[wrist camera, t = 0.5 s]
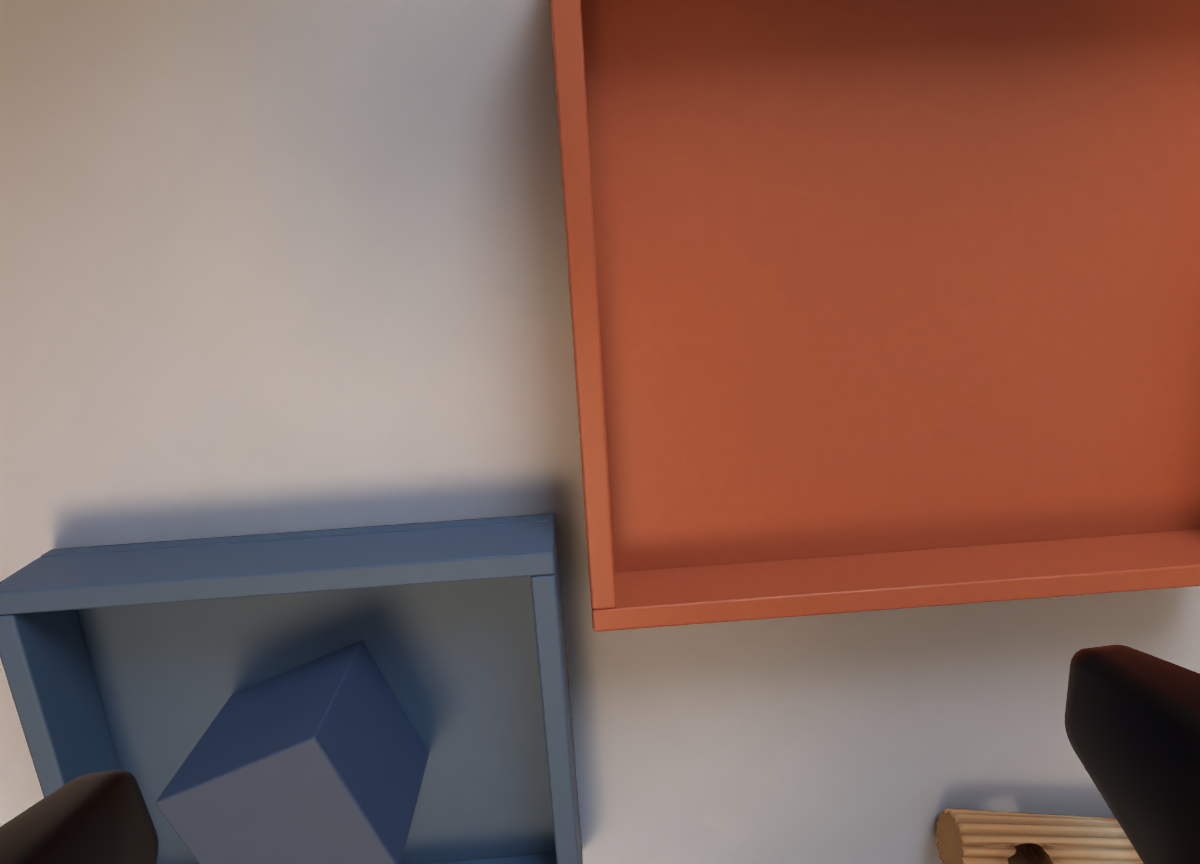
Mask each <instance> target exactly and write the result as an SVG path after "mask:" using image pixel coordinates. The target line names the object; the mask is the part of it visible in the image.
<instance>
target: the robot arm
mask: <svg viewBox="0 0 1200 864" xmlns="http://www.w3.org/2000/svg"><path fill="white" fill-rule="evenodd" d="M1065 727H1066V732H1067V736H1068V738H1069V741H1070V743H1071V745H1072V747H1073V749H1074V751H1075V753H1076V754H1077V756H1078V757H1079V759H1080V761H1081V762H1082V764H1083V766H1084V767H1085V769H1086V771H1087V772H1088V774H1089V775H1090V777H1091V779H1092V780H1093V782H1094V784H1095V785H1096V787H1097V788H1098V790H1099V792H1100V793H1101V795H1102V797H1103V798H1104V800H1105V802H1106V803H1107V805H1108V806H1109V808H1110V810H1111V811H1112V813H1113V815H1114V816H1115V818H1116V819H1117V821H1118V823H1119V824H1120V826H1121V828H1122V829H1123V831H1124V833H1125V834H1126V836H1127V837H1128V839H1129V841H1130V842H1131V844H1132V846H1133V847H1134V849H1135V850H1136V852H1137V854H1138V855H1139V857H1140V859H1141V860H1142V862H1143V864H1200V674H1199V673H1196V672H1193V671H1191V670H1188V669H1186V668H1183V667H1180V666H1178V665H1175V664H1172V663H1170V662H1167V661H1164V660H1162V659H1159V658H1157V657H1154V656H1151V655H1149V654H1146V653H1143V652H1141V651H1138V650H1135V649H1133V648H1130V647H1127V646H1123V645H1109V646H1102V647H1094V648H1086V649H1082V650H1080V651H1078V652H1076V653H1075V654H1074V656H1073V658H1072V660H1071V664H1070V673H1069V682H1068V692H1067V701H1066V711H1065ZM158 846H159V844H158V835H157V832H156V829H155V826H154V824H153V821H152V819H151V816H150V813H149V811H148V808H147V806H146V803H145V800H144V798H143V795H142V793H141V790H140V787H139V785H138V782H137V780H136V778H135V777H134V776H133V775H132V774H131V773H130V772H128V771H125V770H112V771H104V772H96V773H88V774H84V775H81V776H78V777H76V778H74V779H73V780H71V781H70V782H68V783H67V784H65V785H64V786H62V787H60V788H59V789H57V790H56V791H54V792H53V793H51V794H50V795H48V796H47V797H45V798H44V799H42V800H41V801H39V802H38V803H36V804H35V805H33V806H32V807H30V808H29V809H27V810H26V811H24V812H22V813H21V814H19V815H18V816H16V817H15V818H13V819H12V820H10V821H9V822H7V823H6V824H4V825H3V826H1V827H0V864H156V861H157V856H158Z"/></svg>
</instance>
